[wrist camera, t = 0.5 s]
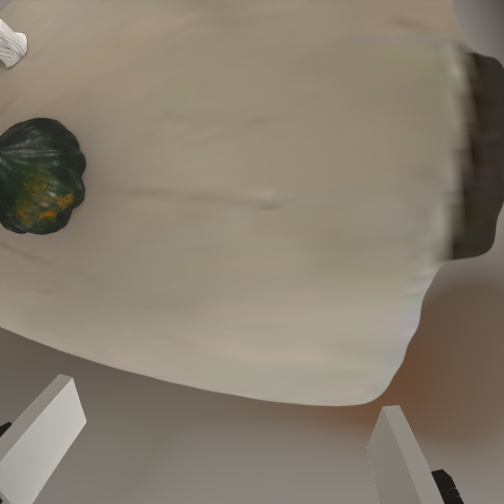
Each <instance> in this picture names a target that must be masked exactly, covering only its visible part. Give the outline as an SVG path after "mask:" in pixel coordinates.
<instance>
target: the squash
mask: <svg viewBox="0 0 504 504" xmlns="http://www.w3.org/2000/svg"><path fill="white" fill-rule="evenodd" d="M85 167H86V161H85V157H84V155H83V154H82V153H81V152H80V151H79V144H78V141H77V139H76V138H75V136H74V135H73V134H72V133H71V132H70V131H68V130H67V129H66V128H65V127H64V126H63V125H62V124H61V123H60V122H58V121H56V120H53V119H48V118H34V119H31V120H27V121H25V122H20V123H17V124H15V125H14V126H12V127H10V128H9V129H8V130H7V131H6V132H4V133H3V134H2V135H1V136H0V223H1V224H2V225H3V227H5V228H6V229H7V230H10V231H12V232H15V233H19V234H24V233H27V232H29V233H34V234H40V235H44V234H49V233H53V232H57V231H59V230H60V229H62V228H64V227H65V226H66V224H67V223H68V221H69V219H70V216H71V213H72V209H74V208H75V207H77V206H79V205H80V204H81V203H82V201H83V199H84V192H85V188H84V184H83V181H82V179H81V178H80V176H81V175H82V174H83V172H84V170H85Z"/></svg>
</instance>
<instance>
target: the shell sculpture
mask: <svg viewBox="0 0 504 504" xmlns="http://www.w3.org/2000/svg"><path fill="white" fill-rule="evenodd" d="M13 51H14V52H13ZM15 51H16V52H17V53H16V52H15ZM26 52H27V38H26V36H25V35H24V34H23V33H14V32H13V31H12V30H11V29H10V28H9V27H8V26H7V25H6V24H5V23H4V22H3V21H2V20H1V19H0V60H2V61H3V62H4V63H5V65H6V67H7V68H9V67H10V66H13V65H14V64H15V63H17V61H19V60H20V57H21V55H22V56H23V57H24V55H25V54H26ZM19 53H20V54H21V55H20V54H19ZM23 54H24V55H23ZM21 58H22V57H21Z"/></svg>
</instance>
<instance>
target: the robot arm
mask: <svg viewBox="0 0 504 504" xmlns="http://www.w3.org/2000/svg"><path fill="white" fill-rule="evenodd" d="M85 424H86V418H85V416H84V413H83V410H82V407H81V404H80V400H79V397H78V394H77V391H76V387H75V384H74V381H73V378H72V377H68V376H65V375H61V374H59V375H58V376H57V377H56V378H55V379H54V381H53V382H52V383H51V384H50V385H49V386H48V387H47V388H46V389H45V390H44V391H43V392H42V393H41V394H40V395H39V396H38V397H37V398H36V399H35V400H34V401H33V403H32V404H31V405H30V406H29V407H28V408H27V409H26V410H25V411H24V412H23V413H22V414H21V415H20V416H19V418H18V419H17V420H16V421H15V422H14V423H13V424H12V423H10V422H8V423H6V424H4V425H2V426H1V427H0V504H1V503H2V501H3V502H4V503H5V504H32V503H33V502H34V500H35V498H36V497H37V495H38V494H39V492H40V490H41V489H42V488H43V486H44V484H45V483H46V481H47V480H48V478H49V477H50V475H51V473H52V472H53V471H54V469H55V468H56V466H57V465H58V463H59V462H60V460H61V459H62V457H63V456H64V454H65V453H66V451H67V450H68V448H69V447H70V445H71V444H72V443H73V441H74V440H75V438H76V437H77V435H78V433H79V432H80V431H81V429H82V428H83V427H84V425H85ZM366 452H367V455H368V458H369V462H370V465H371V469H372V472H373V476H374V479H375V483H376V486H377V490H378V494H379V497H380V501H381V504H464V503H463V501H462V499H461V497H460V494H459V492H458V490H457V489H456V486H455V484H454V482H453V480H452V478H451V476H449V475H448V474H447V473H446V472H445V471H444V470H443V469H441V470H437V471H433V472H430V469H429V467H428V465H427V463H426V461H425V458H424V456H423V454H422V452H421V450H420V448H419V446H418V443H417V441H416V439H415V437H414V435H413V433H412V431H411V429H410V427H409V425H408V423H407V421H406V418H405V416H404V414H403V412H402V410H401V408H400V406H399V405H397V406H387V407H382V410H381V412H380V415H379V418H378V421H377V424H376V426H375V429H374V431H373V434H372V436H371V439H370V442H369V444H368V446H367V449H366Z"/></svg>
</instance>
